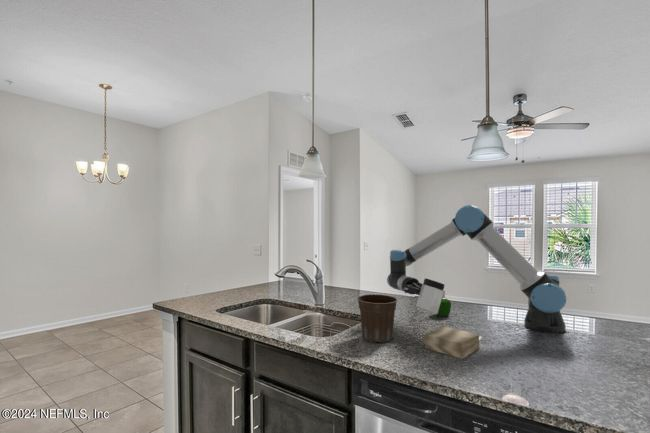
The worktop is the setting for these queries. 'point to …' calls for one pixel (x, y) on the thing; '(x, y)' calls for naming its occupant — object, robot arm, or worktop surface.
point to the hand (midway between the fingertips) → (440, 294)
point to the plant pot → (377, 317)
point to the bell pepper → (444, 307)
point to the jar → (430, 295)
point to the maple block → (452, 341)
